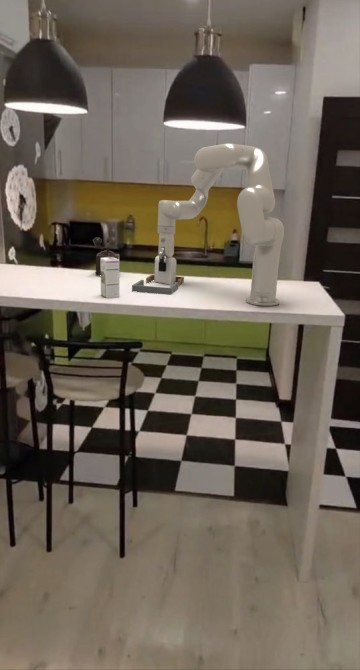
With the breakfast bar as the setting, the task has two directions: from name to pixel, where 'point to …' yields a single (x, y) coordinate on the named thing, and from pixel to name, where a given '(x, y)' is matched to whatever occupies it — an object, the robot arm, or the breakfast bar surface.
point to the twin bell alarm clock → (102, 254)
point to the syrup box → (109, 277)
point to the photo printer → (170, 272)
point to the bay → (154, 288)
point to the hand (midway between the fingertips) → (164, 269)
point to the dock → (178, 279)
